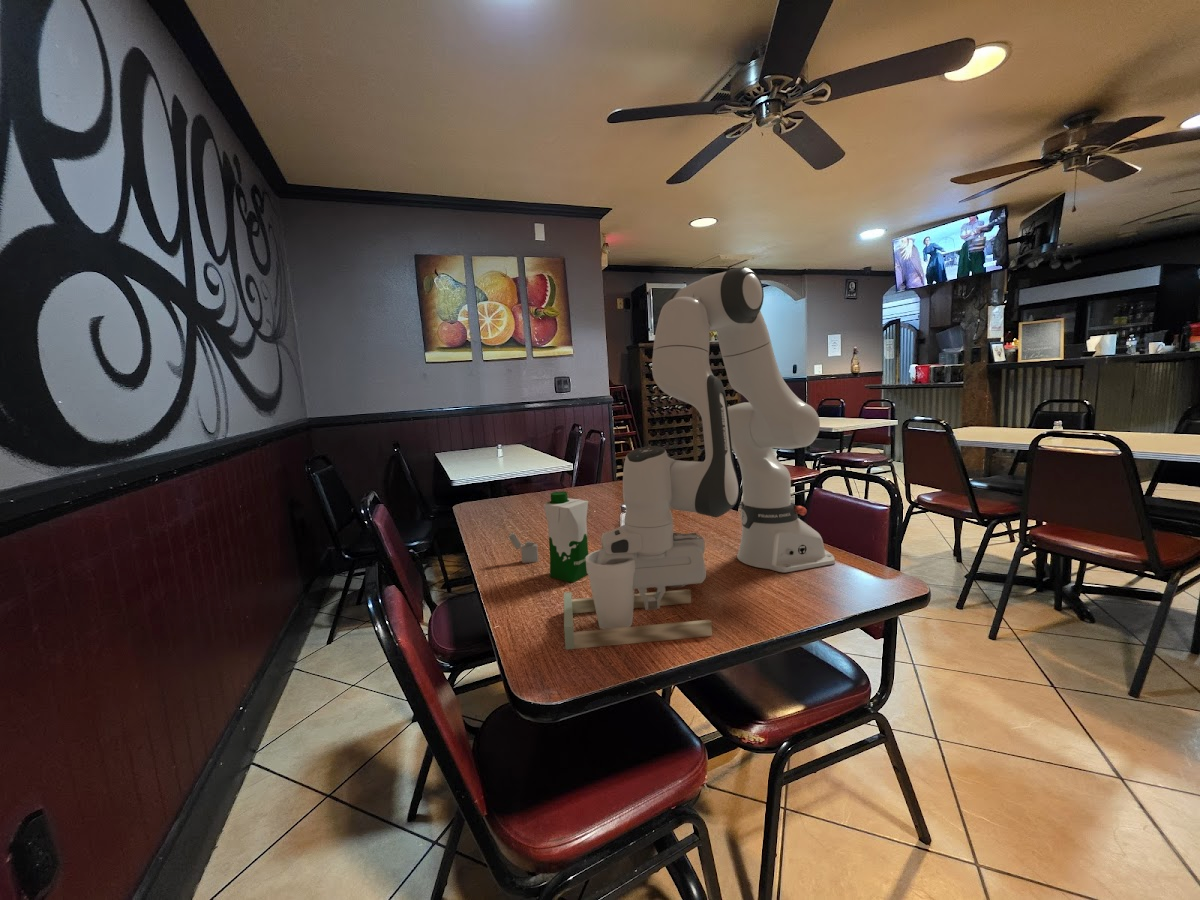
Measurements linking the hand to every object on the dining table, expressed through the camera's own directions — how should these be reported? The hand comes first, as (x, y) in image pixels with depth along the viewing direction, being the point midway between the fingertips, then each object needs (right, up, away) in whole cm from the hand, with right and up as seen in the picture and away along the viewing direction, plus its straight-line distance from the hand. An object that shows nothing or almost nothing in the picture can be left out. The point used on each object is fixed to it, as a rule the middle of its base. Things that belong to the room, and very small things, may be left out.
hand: (651, 608), depth 86 cm
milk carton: (-17, -1, +25) cm, 30 cm away
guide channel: (-3, -3, 0) cm, 4 cm away
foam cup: (-7, -3, 0) cm, 7 cm away
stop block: (-15, -4, -1) cm, 16 cm away
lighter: (-30, 0, +36) cm, 47 cm away
